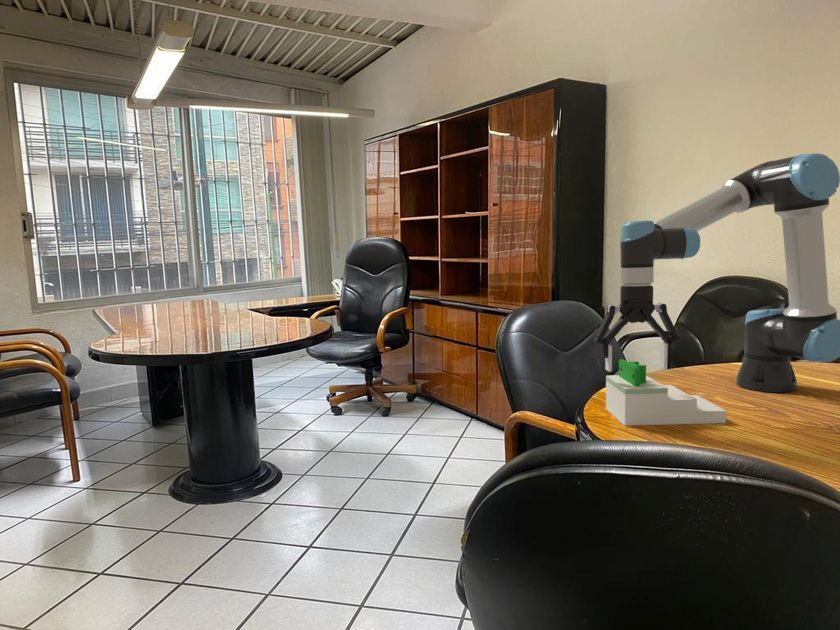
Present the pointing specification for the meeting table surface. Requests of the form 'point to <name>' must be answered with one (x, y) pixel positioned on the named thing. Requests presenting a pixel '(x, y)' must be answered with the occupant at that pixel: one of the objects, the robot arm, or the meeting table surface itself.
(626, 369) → the pipe clamp
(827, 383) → the meeting table surface
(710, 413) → the stepped riser
